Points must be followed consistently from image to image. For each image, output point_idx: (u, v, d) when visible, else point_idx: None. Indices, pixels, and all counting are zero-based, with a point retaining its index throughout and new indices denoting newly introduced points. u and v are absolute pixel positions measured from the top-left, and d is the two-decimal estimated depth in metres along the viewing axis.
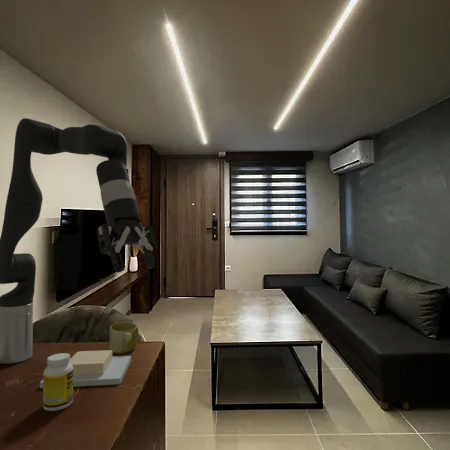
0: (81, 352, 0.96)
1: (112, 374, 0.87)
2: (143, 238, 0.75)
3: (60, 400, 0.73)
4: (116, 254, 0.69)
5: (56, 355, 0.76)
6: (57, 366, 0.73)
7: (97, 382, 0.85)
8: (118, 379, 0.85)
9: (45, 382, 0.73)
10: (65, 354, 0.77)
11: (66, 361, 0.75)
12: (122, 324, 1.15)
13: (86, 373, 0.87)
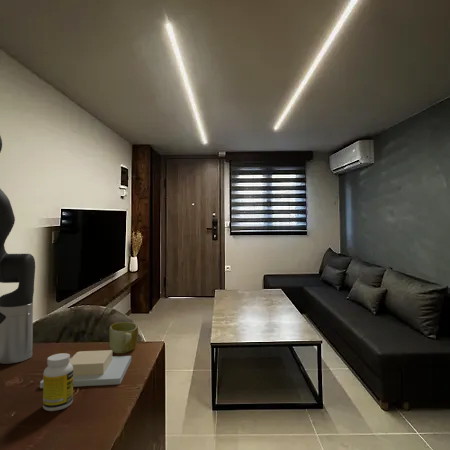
0: (81, 352, 0.96)
1: (112, 374, 0.87)
2: None
3: (60, 400, 0.73)
4: None
5: (56, 355, 0.76)
6: (57, 366, 0.73)
7: (97, 382, 0.85)
8: (118, 379, 0.85)
9: (45, 382, 0.73)
10: (65, 354, 0.77)
11: (66, 361, 0.75)
12: (122, 324, 1.15)
13: (86, 373, 0.87)
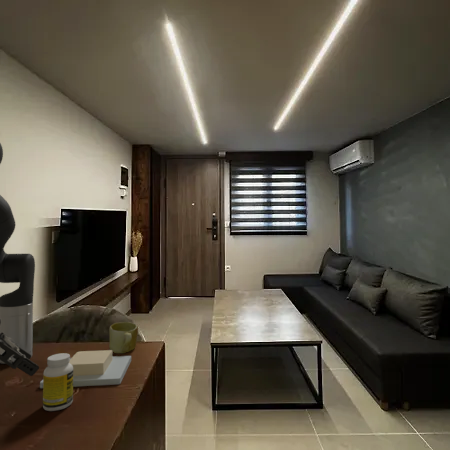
0: (81, 352, 0.96)
1: (112, 374, 0.87)
2: None
3: (60, 400, 0.73)
4: None
5: (56, 355, 0.76)
6: (57, 366, 0.73)
7: (97, 382, 0.85)
8: (118, 379, 0.85)
9: (45, 382, 0.73)
10: (65, 354, 0.77)
11: (66, 361, 0.75)
12: (122, 324, 1.15)
13: (86, 373, 0.87)
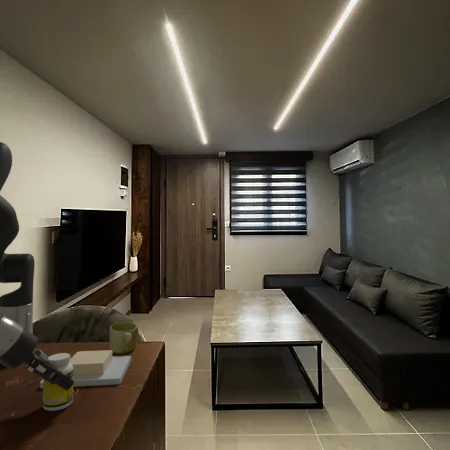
0: (81, 352, 0.96)
1: (112, 374, 0.87)
2: (39, 375, 0.71)
3: (60, 400, 0.73)
4: None
5: (56, 355, 0.76)
6: (57, 366, 0.73)
7: (97, 382, 0.85)
8: (118, 379, 0.85)
9: (45, 382, 0.73)
10: (65, 354, 0.77)
11: (66, 361, 0.75)
12: (122, 324, 1.15)
13: (86, 373, 0.87)
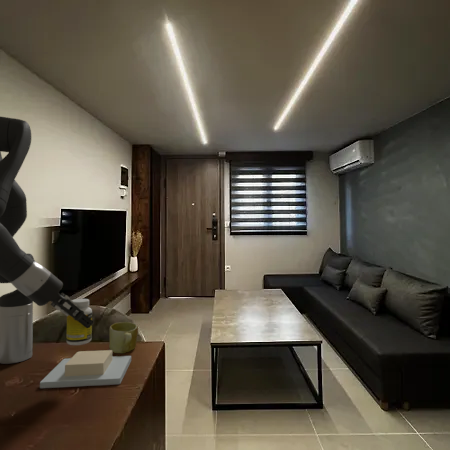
0: (81, 352, 0.96)
1: (112, 374, 0.87)
2: (64, 313, 0.82)
3: (82, 336, 0.84)
4: None
5: (77, 299, 0.88)
6: (79, 308, 0.85)
7: (97, 382, 0.85)
8: (118, 379, 0.85)
9: (68, 320, 0.84)
10: (85, 299, 0.88)
11: (86, 304, 0.86)
12: (122, 324, 1.15)
13: (86, 373, 0.87)
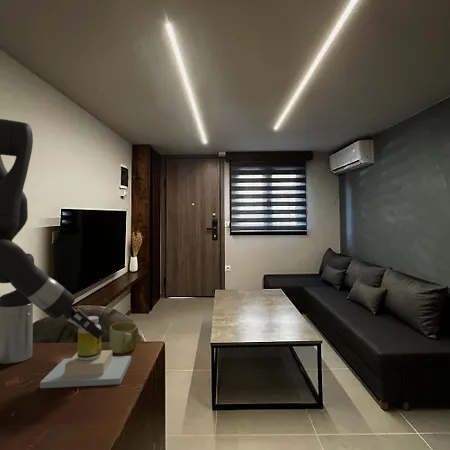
0: None
1: (112, 374, 0.87)
2: (76, 325, 0.87)
3: (92, 352, 0.90)
4: (78, 323, 0.95)
5: None
6: None
7: (97, 382, 0.85)
8: (118, 379, 0.85)
9: (79, 337, 0.90)
10: (94, 316, 0.94)
11: (96, 321, 0.92)
12: (122, 324, 1.15)
13: (86, 373, 0.87)
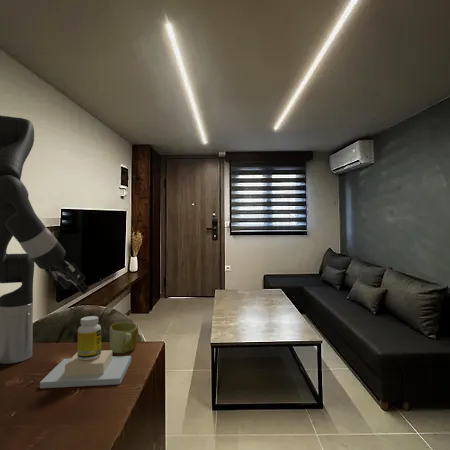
0: None
1: (112, 374, 0.87)
2: (64, 278, 0.87)
3: (92, 352, 0.90)
4: (58, 279, 0.94)
5: (87, 317, 0.93)
6: (89, 325, 0.90)
7: (97, 382, 0.85)
8: (118, 379, 0.85)
9: (79, 337, 0.90)
10: (94, 316, 0.94)
11: (96, 321, 0.92)
12: (122, 324, 1.15)
13: (86, 373, 0.87)
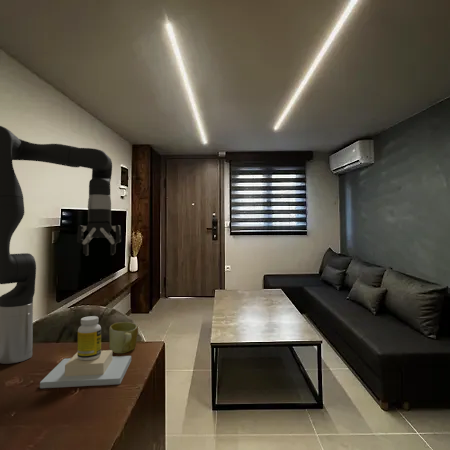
0: None
1: (112, 374, 0.87)
2: (106, 235, 1.11)
3: (92, 352, 0.90)
4: (84, 245, 1.11)
5: (87, 317, 0.93)
6: (89, 325, 0.90)
7: (97, 382, 0.85)
8: (118, 379, 0.85)
9: (79, 337, 0.90)
10: (94, 316, 0.94)
11: (96, 321, 0.92)
12: (122, 324, 1.15)
13: (86, 373, 0.87)
